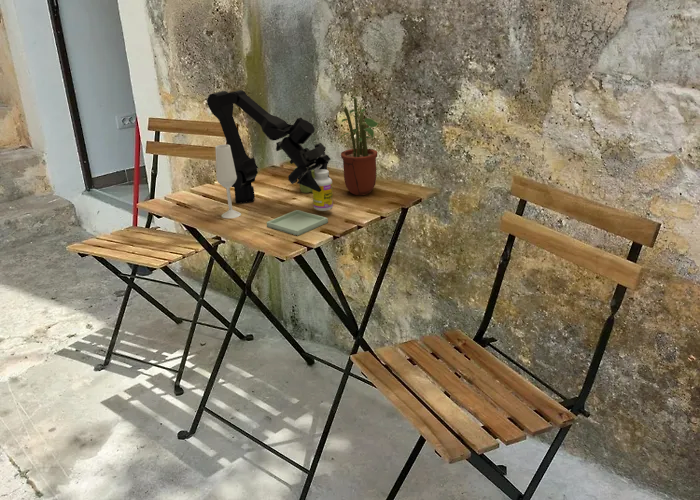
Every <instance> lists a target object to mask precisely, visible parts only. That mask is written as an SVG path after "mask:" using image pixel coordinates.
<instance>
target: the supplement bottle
mask: <svg viewBox="0 0 700 500" xmlns="http://www.w3.org/2000/svg"><path fill="white" fill-rule="evenodd" d="M328 175H329V177H330V172H329V170H328V169H327V170H326V169H319V170H316V171H315V176H316V177H315V178H314V180H315V181H316V183H317V184H318V185H319V187H320V188H321V191H320V192H317V191H315V190H313V192H312V204H313V209H315V210H316V211H320V212H321V211H322V212H323V211H329V210H331V209H332V208H333V207H334V196H333V194H334V193H333V180H332V178H331V177H330V178H329V177H328Z"/></svg>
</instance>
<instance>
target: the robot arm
mask: <svg viewBox="0 0 700 500" xmlns="http://www.w3.org/2000/svg"><path fill="white" fill-rule="evenodd" d="M206 102H207V103H206V104H207V107H208V108H209V110H210V112H211V114H212V115H213V116H215V118H217V119H218V121H219V124H220V126H221V127H220V128H221V129H222V133H223V135H224V137H225V141H226V143H227V145H230V148H231V152H232V157H233V162H234V166H235V171H236V176H237V179H236V182H235V183H234V184H233V185H232V187H231V188H233V189H234V190H233V191H234V201H235V205H236V204H248V203H254V202H255V201H254V200H255V189H254V186H253V185H252V184H253V183H254V182H256V178H257V176H258V172H259V170H258V169H259V167H258V165H257V163H256V159H255V158H254V157H249V155H248V154H247V153H246V149H245V147H244V144H243V141H242V138H241V136H240V133H239V130H238V126H237V124H236V121H235V119H234V115H233V114H234V113H233V112H234V105H236V106H237V107H238V108H239V109H240V110H242V111H243V112H244V113H245V114H246V115H248V116H249V117H250V118H251V119H253V120H254V121H255V122H256V123H257V124H258V125H259V126H260V127H261V130H262V132H263V133H264V135H265V136H266V137H267V138H268V139H269V140H270V141H273V142H274V141H278V140H281V141H278V142H276V147H275V151H276V152H279V151H281V150H282V151H283V152H284V153H285V154H286V155H287V157H288V158H289V159H290V160H289V163H290V164H291V165H292V164H294V165H295V166H296V167H297V168H296V167H295V168H294V169H293V171H292V172H291V173H290V174H289V175H288V177H287V178H288V179H287V180H288V181H289V182H290V184H291V185H294V184H296V183H297V185H299V184H301V185H304V186H307V187H309V188H311V189H313V190H315V191H317V192H320V191H321V188H320V187H319V185H318V184H317V183H316V181H315V180H314V179H313V177H312V172H311V170H314V171H316V170H319V169H326V170H328V165H329V162H330V161H331V157H330V156H329V155H328V154H326V155H325V153H326V149H327V148H326V146H325V145H324V144H323V143H322V142H319V143H317V144H314V148H312V149H310V148H309V147H305V148H304V147H303V145H304V144H305V143H306V142H307V141H308V140H309V139H310V137H311V136H312V135H313V134H314V133H315V131H316V130H315V127H314V125H313V123H312V122H309V121H308V120H305V119H303V117H297V119H296V120H295V122H294V123H292V124H290V123H288V122H287V121H286V120H284V119H283V118H281V117H279V116H277V115H273V114H270V113H269V112H268V111H267V110H265V108H263V107H262V106H261V105H260V104H258V103H257V102H256V101H255V100H254V99H253V98H251V97H250V96H249V95H248V94H247V93H246V92H245V91H244V90H242V89H238V90H235V91H230V92H228V91H226V90H221V91H215V92H213V93H210V94H209V95H208V97H207V99H206ZM321 155H322V156H321ZM314 161H315V162H314ZM314 175H315V174H314ZM328 177H329V178H331V177H330V174H329V175H328ZM298 180H299V181H298Z"/></svg>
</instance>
